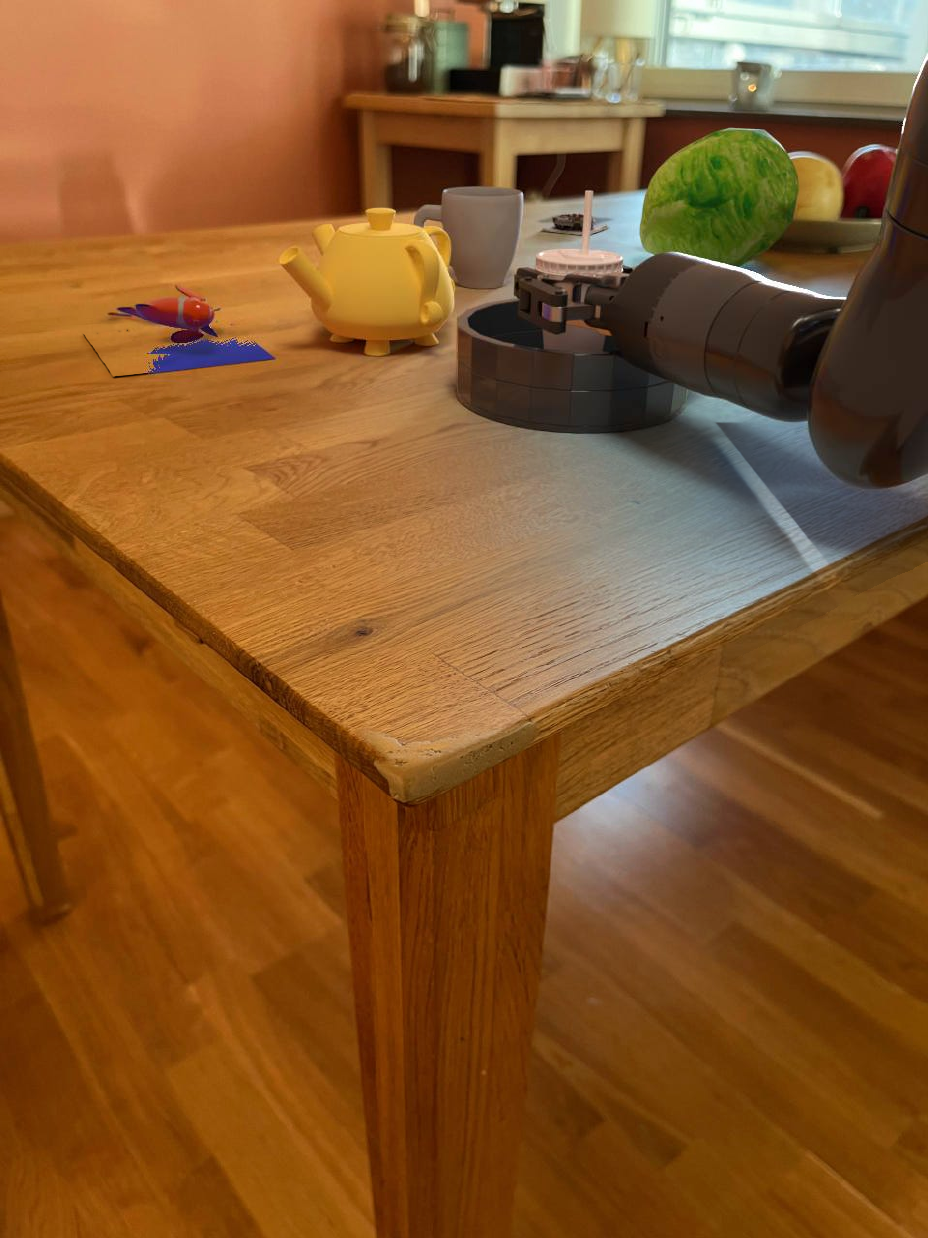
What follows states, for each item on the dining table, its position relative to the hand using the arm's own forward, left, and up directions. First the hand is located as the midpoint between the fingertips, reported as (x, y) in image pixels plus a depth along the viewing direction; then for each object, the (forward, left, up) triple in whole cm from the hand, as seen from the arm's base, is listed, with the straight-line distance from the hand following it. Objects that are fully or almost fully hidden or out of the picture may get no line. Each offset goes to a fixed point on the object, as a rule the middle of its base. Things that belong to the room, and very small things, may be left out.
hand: (560, 278), depth 73 cm
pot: (-1, +2, -8) cm, 9 cm away
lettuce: (-25, -49, -8) cm, 56 cm away
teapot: (+15, -14, -8) cm, 22 cm away
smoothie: (-1, +2, -8) cm, 8 cm away
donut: (-13, -77, -8) cm, 79 cm away
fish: (+32, -12, -8) cm, 35 cm away
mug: (+5, -39, -8) cm, 40 cm away
